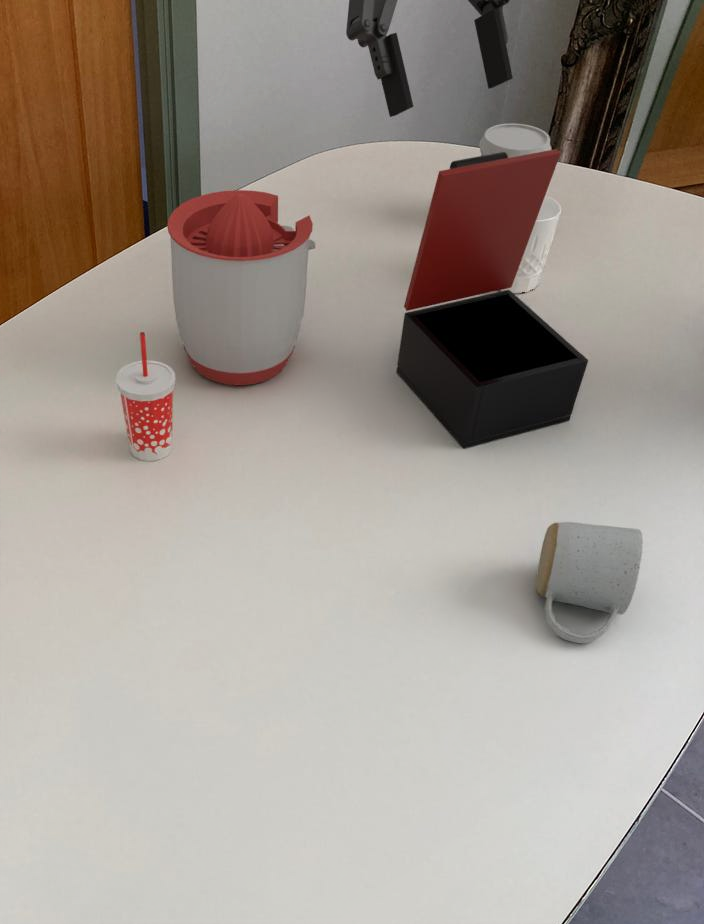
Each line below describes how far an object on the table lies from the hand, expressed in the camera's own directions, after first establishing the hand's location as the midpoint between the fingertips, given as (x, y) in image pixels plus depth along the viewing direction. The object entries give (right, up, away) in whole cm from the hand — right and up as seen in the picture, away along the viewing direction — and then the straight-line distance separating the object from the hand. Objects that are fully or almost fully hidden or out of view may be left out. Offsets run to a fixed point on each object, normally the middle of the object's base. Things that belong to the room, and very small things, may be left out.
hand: (452, 98), depth 99 cm
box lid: (+4, -11, +7) cm, 14 cm away
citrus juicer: (-20, -20, +21) cm, 35 cm away
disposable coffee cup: (+16, +5, +43) cm, 46 cm away
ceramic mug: (+10, -51, -6) cm, 52 cm away
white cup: (+15, -7, +32) cm, 36 cm away
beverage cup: (-31, -33, +9) cm, 46 cm away
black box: (+7, -26, +15) cm, 31 cm away
